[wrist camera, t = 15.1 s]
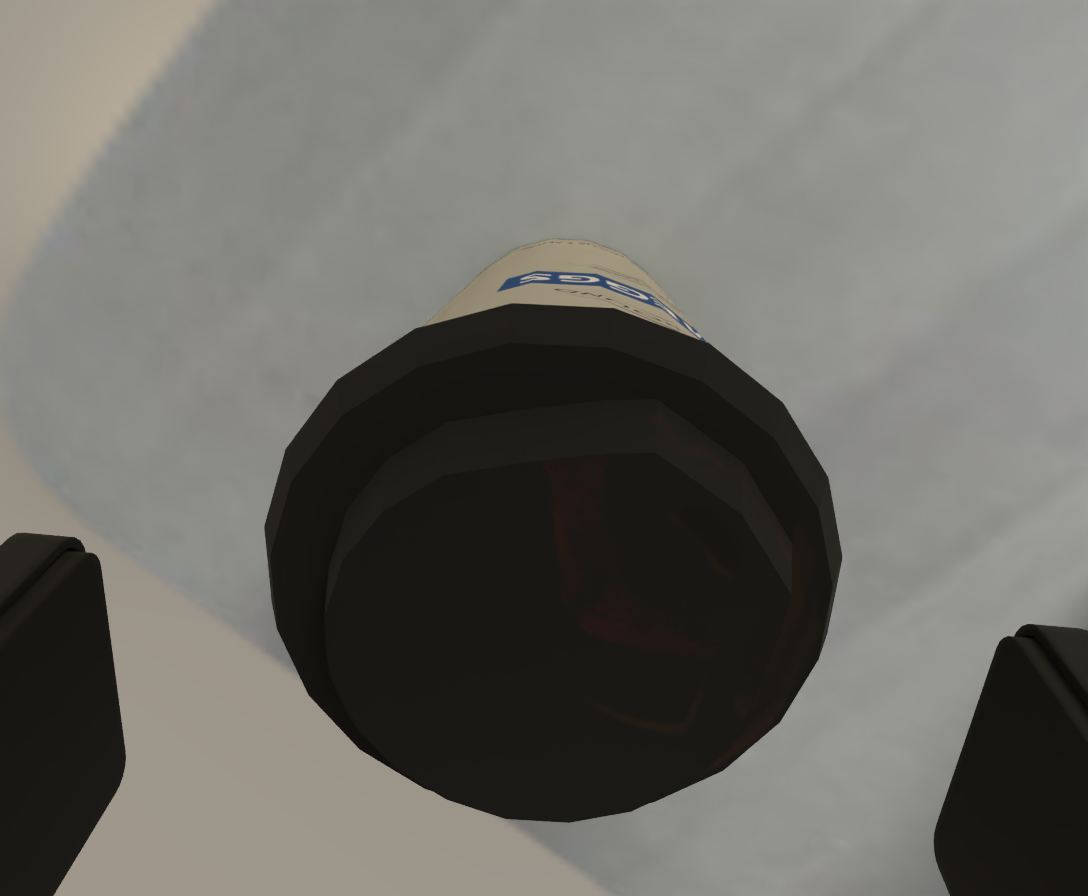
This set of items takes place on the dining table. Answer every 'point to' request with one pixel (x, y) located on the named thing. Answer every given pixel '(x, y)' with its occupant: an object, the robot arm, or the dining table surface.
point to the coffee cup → (553, 546)
